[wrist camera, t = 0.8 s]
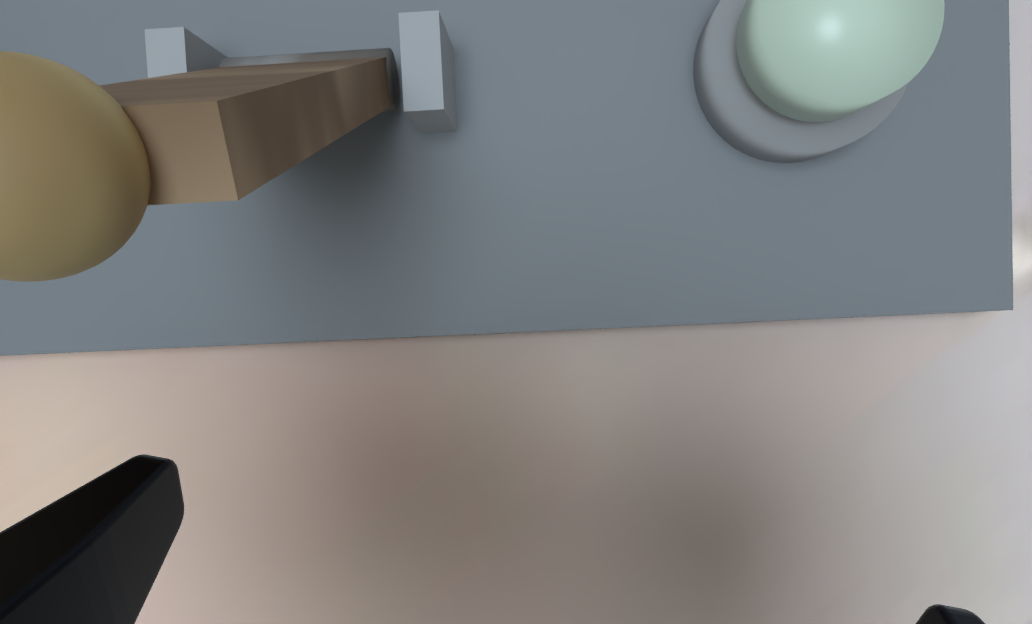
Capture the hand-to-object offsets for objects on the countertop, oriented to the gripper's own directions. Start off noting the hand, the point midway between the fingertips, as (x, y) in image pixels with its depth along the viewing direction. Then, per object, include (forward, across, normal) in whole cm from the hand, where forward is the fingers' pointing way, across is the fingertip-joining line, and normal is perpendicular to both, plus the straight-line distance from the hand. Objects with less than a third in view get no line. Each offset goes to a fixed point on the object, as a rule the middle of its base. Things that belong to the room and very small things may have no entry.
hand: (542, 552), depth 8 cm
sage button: (+14, -5, -4) cm, 15 cm away
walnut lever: (+13, +8, -1) cm, 15 cm away
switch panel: (+15, +8, 0) cm, 17 cm away
